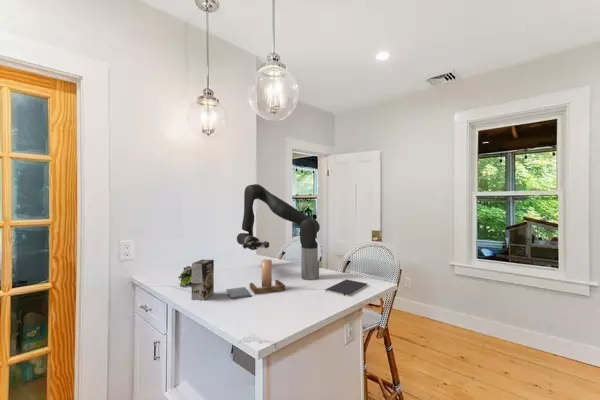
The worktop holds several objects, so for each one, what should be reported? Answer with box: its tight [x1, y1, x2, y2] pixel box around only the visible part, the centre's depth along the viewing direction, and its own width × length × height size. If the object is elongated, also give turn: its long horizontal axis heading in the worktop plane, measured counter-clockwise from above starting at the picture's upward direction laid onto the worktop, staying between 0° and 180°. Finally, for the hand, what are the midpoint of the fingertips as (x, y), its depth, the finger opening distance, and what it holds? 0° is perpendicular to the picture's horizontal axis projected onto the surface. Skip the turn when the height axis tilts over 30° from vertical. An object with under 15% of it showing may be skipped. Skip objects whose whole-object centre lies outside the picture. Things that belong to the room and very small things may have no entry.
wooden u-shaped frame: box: [249, 279, 286, 295], centre depth 142 cm, size 15×10×2 cm
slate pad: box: [225, 286, 252, 300], centre depth 135 cm, size 9×12×1 cm
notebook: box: [325, 279, 368, 297], centre depth 143 cm, size 13×2×21 cm
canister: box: [261, 259, 273, 287], centre depth 143 cm, size 5×5×14 cm
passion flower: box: [178, 265, 192, 287], centre depth 151 cm, size 11×11×12 cm
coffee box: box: [190, 259, 215, 301], centre depth 131 cm, size 9×6×16 cm
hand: (259, 246), depth 154 cm, fingers open, 8 cm apart
